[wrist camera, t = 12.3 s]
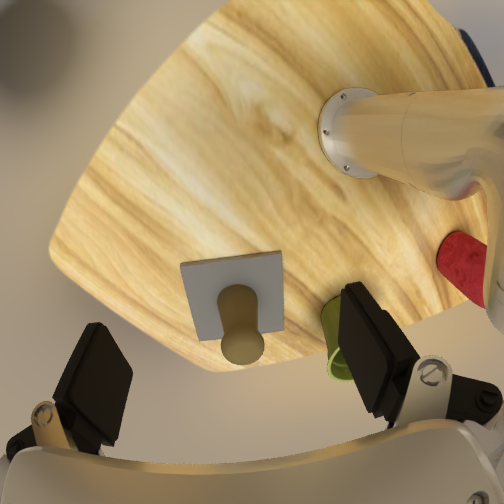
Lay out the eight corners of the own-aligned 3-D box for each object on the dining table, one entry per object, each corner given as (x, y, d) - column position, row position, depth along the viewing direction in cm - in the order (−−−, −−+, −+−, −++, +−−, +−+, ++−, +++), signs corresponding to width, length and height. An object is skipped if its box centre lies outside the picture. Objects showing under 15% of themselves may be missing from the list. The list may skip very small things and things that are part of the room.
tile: (280, 250, 38) (281, 253, 37) (282, 326, 44) (284, 330, 43) (180, 263, 37) (179, 266, 36) (199, 337, 43) (199, 341, 42)
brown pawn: (256, 317, 41) (267, 370, 31) (216, 317, 40) (218, 372, 30) (259, 283, 39) (272, 336, 29) (216, 284, 38) (217, 337, 28)
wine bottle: (470, 233, 41) (574, 311, 14) (453, 275, 45) (543, 363, 18) (446, 223, 39) (568, 314, 12) (427, 271, 43) (529, 376, 16)
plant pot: (307, 288, 41) (332, 337, 31) (373, 276, 42) (408, 316, 32) (305, 342, 46) (323, 390, 36) (364, 329, 47) (390, 370, 37)
